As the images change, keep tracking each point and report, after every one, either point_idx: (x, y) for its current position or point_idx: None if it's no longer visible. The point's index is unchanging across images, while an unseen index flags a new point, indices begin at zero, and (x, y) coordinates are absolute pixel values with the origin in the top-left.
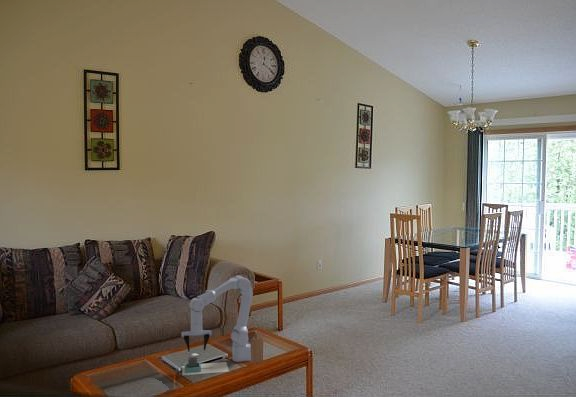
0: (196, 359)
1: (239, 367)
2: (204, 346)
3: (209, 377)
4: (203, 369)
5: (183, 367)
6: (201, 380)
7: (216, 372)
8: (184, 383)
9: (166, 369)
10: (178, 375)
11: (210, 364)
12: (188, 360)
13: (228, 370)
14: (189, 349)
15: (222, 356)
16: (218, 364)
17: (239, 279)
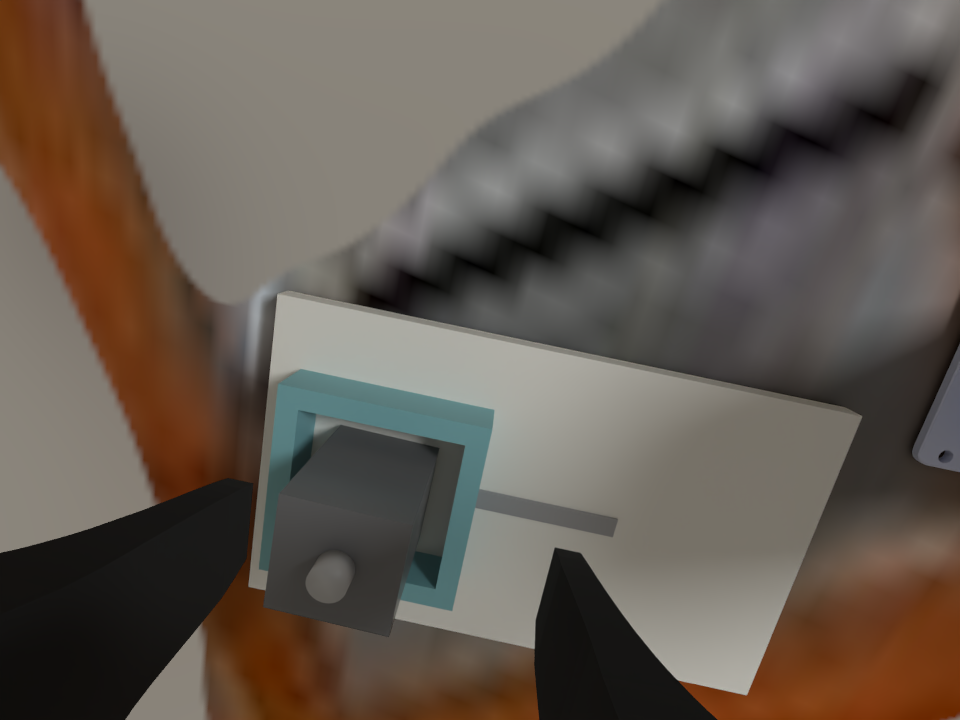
0: (383, 634)
1: (933, 561)
2: (545, 714)
3: (519, 668)
4: (500, 534)
5: (285, 374)
6: (428, 698)
7: None
8: (268, 693)
9: (105, 264)
10: None
11: (631, 415)
12: (268, 599)
13: (753, 673)
14: (220, 597)
15: (950, 58)
16: (726, 458)
17: None
